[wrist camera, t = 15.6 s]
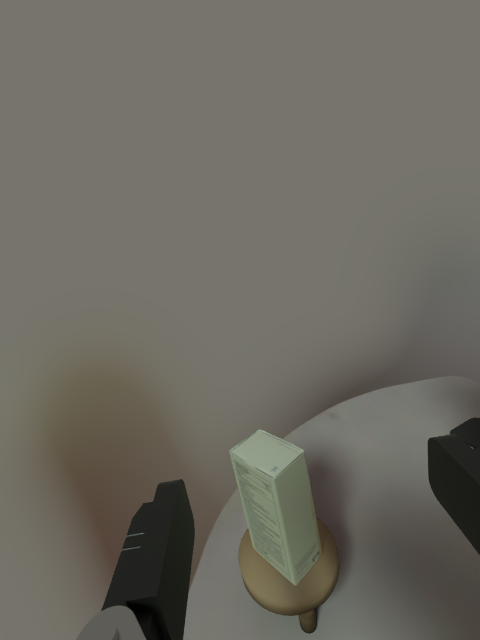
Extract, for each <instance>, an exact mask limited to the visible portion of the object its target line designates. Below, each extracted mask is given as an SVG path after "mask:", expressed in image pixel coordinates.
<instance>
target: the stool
mask: <svg viewBox="0 0 480 640" xmlns="http://www.w3.org/2000/svg"><path fill="white" fill-rule="evenodd" d="M316 519H317V525H318V531H319V536H320V542H321V548H322V555H321V556H320V557H319V559H318V560H317V561H316V562H315V564H314V565H313V566H312V567H311V569H310V570H309V571H308V572H307V574H306V575H305V576H304V577H303V578H302V579H301V581H300V582H299V583H298V584H297V585H294V584H293V583H291V582H290V581H289V580H288V579H287V578H286V577H284V576H283V575H282V574H281V573H280V572H279V571H278V570H277V569H275V568H274V567H273V566H272V565H271V564H270V563H269V562H268V561H267V560H266V559H265V558H263V557H262V556H261V555H260V554H259V553H258V552H257V551H256V550H255V549H254V548H253V546H252V541H251V537H250V533H249V529H247V530H246V532H245V534H244V536H243V538H242V540H241V543H240V547H239V565H240V569H241V574H242V578H243V582H244V584H245V587H246V589H247V591H248V592H249V594H250V595H251V597H252V598H253V599H254V600H255V601H256V602H257V603H258V604H259V605H260V606H262V607H263V608H265V609H267V610H268V611H271V612H273V613H276V614H280V615H288V616H293V615H299V620H300V625H301V628H302V630H303V631H304V632H306V633H313V632H314V631H315V630H316V627H317V622H316V616H315V610H314V609H316V608H318V607H319V606H320V605H321V604H323V603H324V602H325V601H326V600H327V599H328V598H329V596H330V595H331V593H332V592H333V590H334V588H335V586H336V583H337V579H338V574H339V563H338V555H337V547H336V543H335V540H334V538H333V535H332V534H331V532H330V530H329V529H328V528H327V526H326V525H325V524H324V523H323V522H322V521H321V520H319V519H318V518H317V517H316Z"/></svg>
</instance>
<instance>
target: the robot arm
mask: <svg viewBox="0 0 480 640" xmlns="http://www.w3.org/2000/svg"><path fill="white" fill-rule="evenodd" d="M428 475H429V482H430V486H431V488H432V491H433V493H434V495H435V497H436V498H437V500H438V501H439V502H440V504H441V505H442V506H443V508H444V509H445V510H446V511H447V513H448V514H449V515H450V517H451V518H452V519H453V521H454V522H455V523H456V525H457V526H458V527H459V529H460V530H461V531H462V532H463V534H464V535H465V536H466V538H467V539H468V540H469V542H470V543H471V544H472V546H473V547H474V548H475V549H476V551H477V552H478V553H479V555H480V448H475V449H472V448H471V447H470V446H469V445H468V444H466V443H465V442H464V441H463V440H462V439H461V438H460V437H459V436H457V435H455V434H451V435H445V436H439V437H433V438H429V440H428ZM194 535H195V529H194V519H193V514H192V510H191V507H190V503H189V499H188V495H187V492H186V488H185V484H184V481H183V480H182V479H180V480H174V481H169V482H163V483H159V484H158V486H157V490H156V493H155V497H154V501H153V502H149V503H143V505H142V506H141V507H140V509H139V510H138V512H137V513H136V514H135V516H134V517H133V519H132V521H131V525H130V527H129V530H128V533H127V538H126V539H125V542H124V545H123V551H122V552H121V554H120V557H119V560H118V563H117V567H116V569H115V572H114V575H113V578H112V581H111V584H110V587H109V590H108V593H107V596H106V599H105V602H104V605H103V608H102V610H101V612H100V613H98V614H97V615H96V616H95V617H93V618H92V619H91V620H90V621H89V622H88V623H87V624H86V625H85V627H84V628H83V630H82V631H81V632H80V634H79V636H78V637H77V640H183V635H184V626H185V617H186V608H187V599H188V590H189V581H190V573H191V563H192V554H193V546H194Z"/></svg>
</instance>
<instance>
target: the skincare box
mask: <svg viewBox="0 0 480 640" xmlns="http://www.w3.org/2000/svg"><path fill="white" fill-rule="evenodd" d="M229 452H230V456H231V460H232V465H233V468H234V473H235V477H236V481H237V485H238V489H239V493H240V497H241V501H242V505H243V509H244V513H245V517H246V521H247V525H248V529H249V533H250V537H251V541H252V546H253V548H254V549H255V550H256V551H257V552H258V553H259V554H260V555H261V556H262V557H263V558H265V559H266V560H267V561H268V562H269V563H270V564H271V565H272V566H273V567H274V568H275V569H277V570H278V571H279V572H280V573H281V574H282V575H283V576H284V577H286V578H287V579H288V580H289V581H290V582H291V583H293V584H294V585H297V584H298V583H299V582H300V581H301V579H302V578H303V577H304V576H305V575H306V574H307V572H308V571H309V570H310V569H311V567H312V566H313V565H314V564H315V562H316V561H317V560H318V559H319V557H320V556H321V555H322V548H321V542H320V536H319V531H318V525H317V519H316V514H315V508H314V502H313V497H312V491H311V485H310V480H309V474H308V468H307V463H306V457H305V451H304V450H302V449H300V448H298V447H297V446H295V445H292V444H290V443H288V442H286V441H284V440H282V439H280V438H278V437H275V436H273V435H271V434H269V433H267V432H265V431H262V430H258V431H257V432H255V433H254V434H252V435H251V436H249V437H248V438H246V439H245V440H244V441H242V442H241V443H239V444H238V445H237V446H235V447H234V448H232V449H231V450H230V451H229Z"/></svg>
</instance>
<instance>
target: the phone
mask: <svg viewBox="0 0 480 640" xmlns="http://www.w3.org/2000/svg"><path fill="white" fill-rule="evenodd" d="M451 434H455V435H457V436H459V437H460V438H461V439H462V440H463V441H464V442H465V443H466V444H468V445H469V446H471V447H473V448H480V418H471V419H469V420H468V421H466V422H464V423H463V424H461V425H459V426H458V427H456V428H454V429H453V430H451V432H450V435H451Z"/></svg>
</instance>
